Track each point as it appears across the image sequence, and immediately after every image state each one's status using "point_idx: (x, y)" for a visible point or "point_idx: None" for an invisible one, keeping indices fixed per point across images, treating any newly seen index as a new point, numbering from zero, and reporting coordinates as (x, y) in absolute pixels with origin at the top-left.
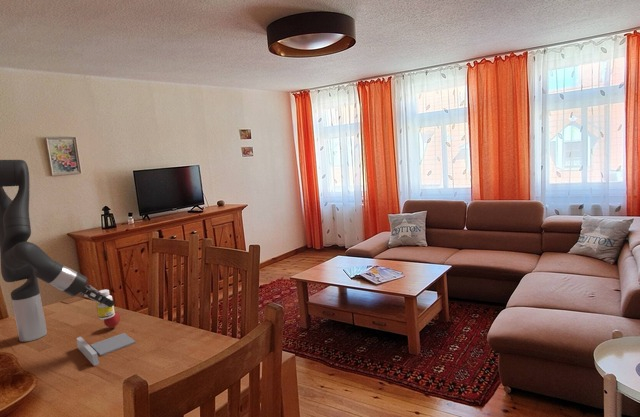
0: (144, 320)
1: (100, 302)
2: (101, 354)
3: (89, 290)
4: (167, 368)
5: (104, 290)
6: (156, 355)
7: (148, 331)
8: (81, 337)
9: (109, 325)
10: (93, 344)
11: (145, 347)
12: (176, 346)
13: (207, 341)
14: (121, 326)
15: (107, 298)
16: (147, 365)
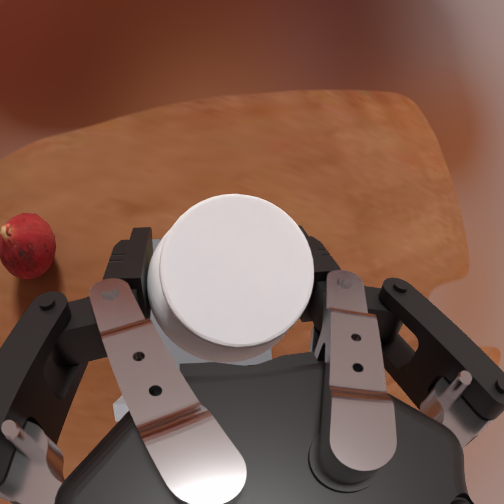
0: (81, 152)
1: (394, 340)
2: (271, 359)
3: (456, 446)
4: (454, 236)
5: (220, 239)
6: (392, 226)
7: (194, 172)
8: (125, 405)
9: (49, 267)
10: None
11: (322, 227)
12: (375, 169)
13: (391, 119)
14: (53, 227)
15: (328, 264)
16: (424, 263)
